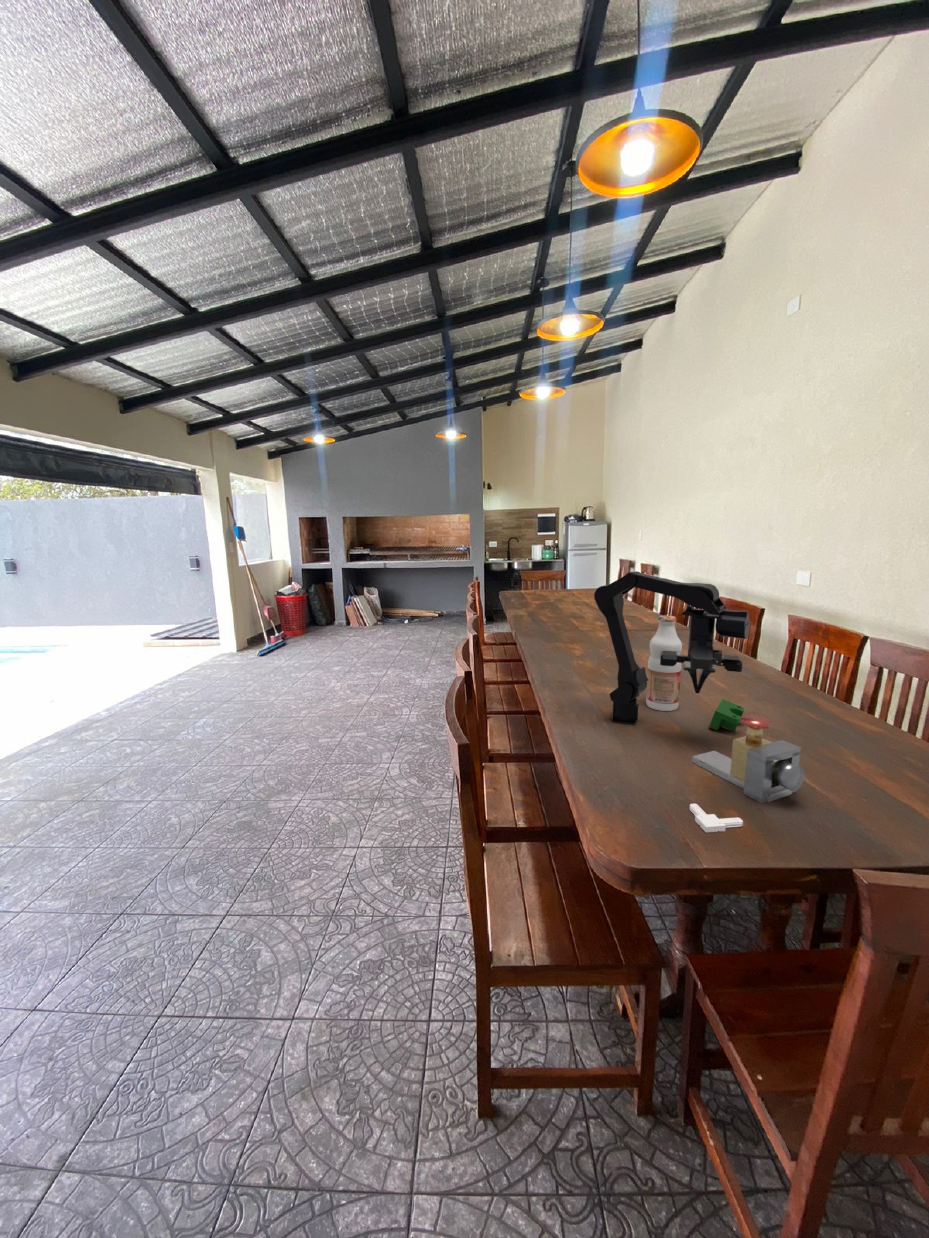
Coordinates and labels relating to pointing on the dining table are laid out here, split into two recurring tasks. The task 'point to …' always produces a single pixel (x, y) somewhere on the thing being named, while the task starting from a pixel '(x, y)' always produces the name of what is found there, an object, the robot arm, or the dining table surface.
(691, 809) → the corner connector
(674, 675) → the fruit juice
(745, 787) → the grey ball socket brick
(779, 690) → the dining table surface
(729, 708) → the clamp
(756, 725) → the valve
